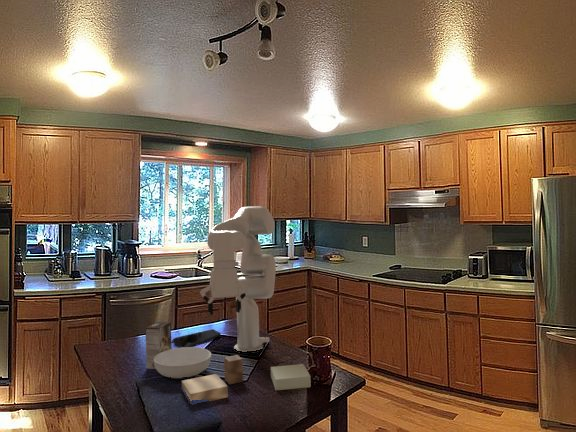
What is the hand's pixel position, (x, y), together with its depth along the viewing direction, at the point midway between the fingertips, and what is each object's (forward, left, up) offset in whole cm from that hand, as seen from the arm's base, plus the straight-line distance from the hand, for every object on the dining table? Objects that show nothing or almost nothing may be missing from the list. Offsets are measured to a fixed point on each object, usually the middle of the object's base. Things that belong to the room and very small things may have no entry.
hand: (224, 313), depth 151 cm
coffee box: (+19, -26, -24) cm, 40 cm away
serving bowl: (+13, -12, -24) cm, 29 cm away
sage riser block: (-18, +15, -24) cm, 34 cm away
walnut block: (-1, +4, -23) cm, 24 cm away
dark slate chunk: (-4, -51, -24) cm, 57 cm away
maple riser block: (+11, +10, -24) cm, 28 cm away
